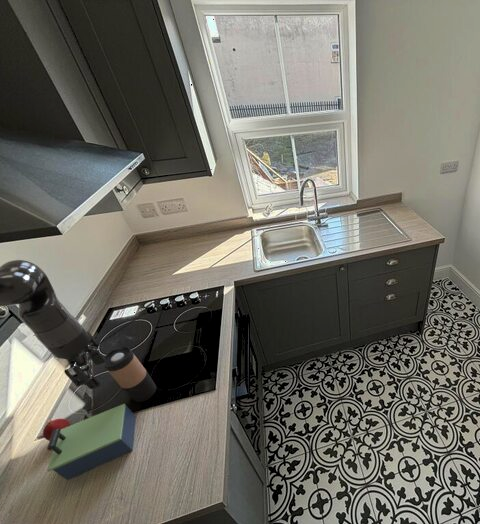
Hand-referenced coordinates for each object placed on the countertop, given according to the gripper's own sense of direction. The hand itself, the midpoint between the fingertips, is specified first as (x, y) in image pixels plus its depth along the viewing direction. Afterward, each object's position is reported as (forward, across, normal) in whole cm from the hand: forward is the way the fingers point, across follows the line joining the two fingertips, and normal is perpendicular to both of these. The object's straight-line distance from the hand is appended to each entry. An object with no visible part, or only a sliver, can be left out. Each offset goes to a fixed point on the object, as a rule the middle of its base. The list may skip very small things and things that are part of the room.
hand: (98, 374), depth 81 cm
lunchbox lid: (+17, +4, -9) cm, 20 cm away
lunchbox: (+24, +4, -9) cm, 26 cm away
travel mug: (+24, -10, +1) cm, 26 cm away
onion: (+24, -6, -20) cm, 32 cm away
